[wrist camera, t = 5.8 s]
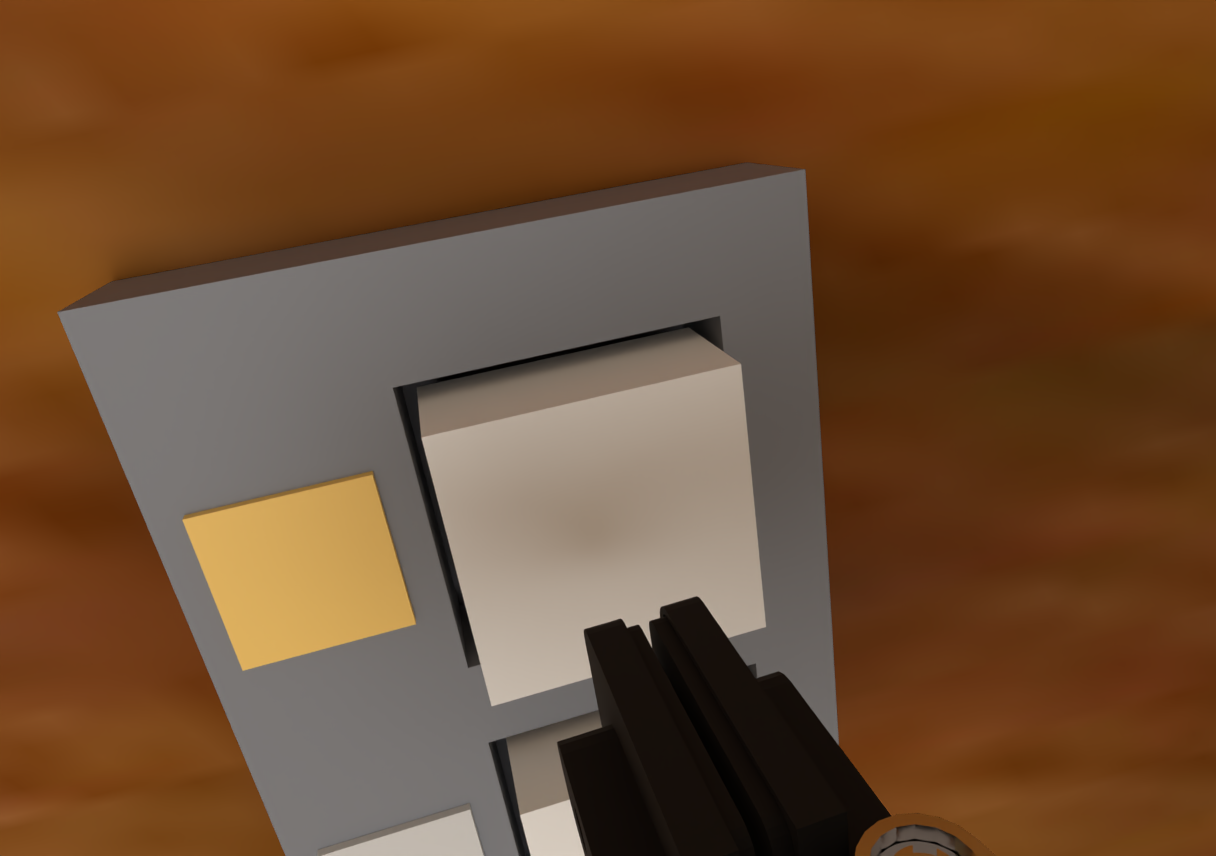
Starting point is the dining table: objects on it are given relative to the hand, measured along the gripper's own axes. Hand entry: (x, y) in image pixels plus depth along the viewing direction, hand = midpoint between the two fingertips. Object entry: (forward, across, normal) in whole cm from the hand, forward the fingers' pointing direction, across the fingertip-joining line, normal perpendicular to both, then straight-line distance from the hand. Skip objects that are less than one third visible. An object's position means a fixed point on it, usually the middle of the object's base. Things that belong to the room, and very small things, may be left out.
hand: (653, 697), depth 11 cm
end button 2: (+8, -1, 0) cm, 8 cm away
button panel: (+10, +1, +9) cm, 13 cm away
